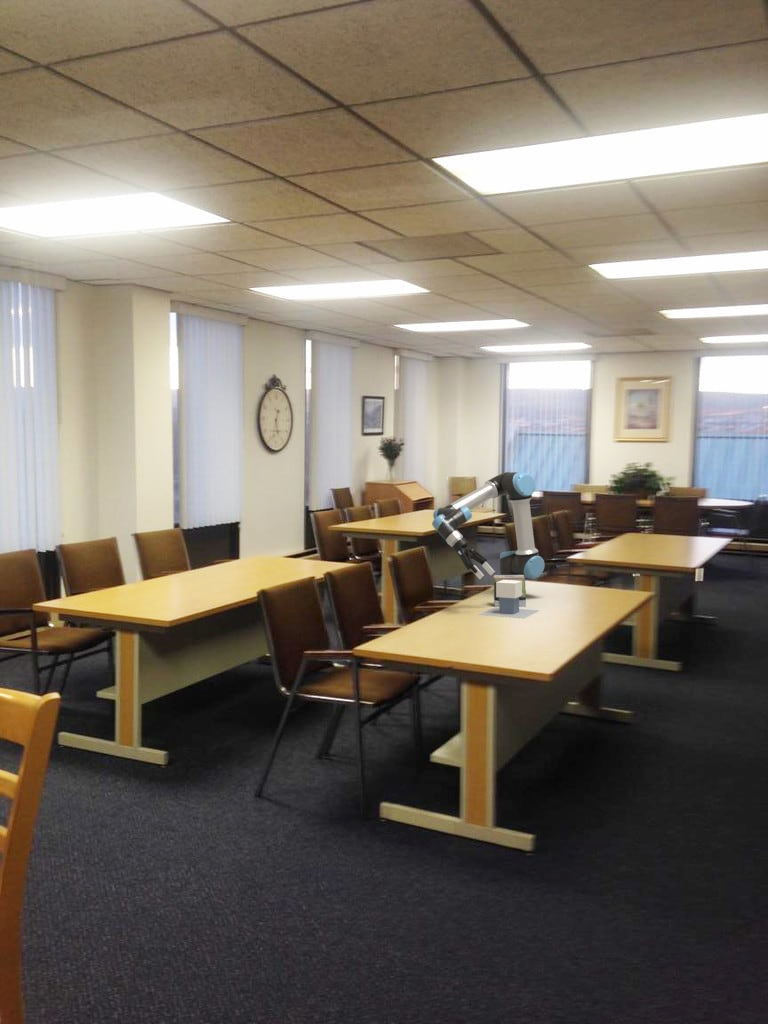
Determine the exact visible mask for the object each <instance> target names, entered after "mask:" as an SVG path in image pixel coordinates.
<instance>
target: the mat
mask: <svg viewBox="0 0 768 1024" xmlns="http://www.w3.org/2000/svg"><path fill="white" fill-rule="evenodd" d="M540 611H541V610H540V609H539V610H537V609H529V608H528V609H526V608H525V609H524V608H519V612H518V613H516V614H502V613H499V607H495V606H494V607H492V608H491V609H488V610H486V611H483V612H481V613H479V614H478V616H485V617H486V616H487V617H499V618H511V619H526V618H528V617H530V616H533V615H534V614H537V613H538V612H540Z"/></svg>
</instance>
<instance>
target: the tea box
mask: <svg viewBox="0 0 768 1024" xmlns="http://www.w3.org/2000/svg"><path fill="white" fill-rule="evenodd" d="M501 580H516V581H522V596H520V597H519V608H527V607H526V606H527V604H526V603H527V601H526V599H527V598H526V597H527V590H526V591H525V589H526V577H524V575H500V574H499V575H498V574H497V575H495V574H493V604H494V608H495V607H499V597H496V582H498V581H501Z"/></svg>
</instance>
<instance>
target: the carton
mask: <svg viewBox="0 0 768 1024" xmlns="http://www.w3.org/2000/svg"><path fill="white" fill-rule="evenodd" d="M519 609H520V607H519V597H517V598H502V597H499V613H502V614H516V613H518V612H519Z"/></svg>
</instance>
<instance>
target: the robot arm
mask: <svg viewBox="0 0 768 1024" xmlns="http://www.w3.org/2000/svg"><path fill="white" fill-rule="evenodd" d="M535 489H536V481H535V479H534V478H533V476H532V475H531V474H530V473H527V472H522V471H516V472H515V471H513V472H511V471H508V472H507V471H505V472H502V473H500V474H498V475H496V476H493V477H492V478H490V479H488V480H487V481H485V482H484V484H483V485H482V486H480V487H478V488H477V489H475V490H473V491H471V492H469V493H468V494H466V495H464V496H462V497H460V498H458V499H457V500H455V501H453V502H451V503H450V504H448V505H446V506H444V507H438V508H435V510H434V511H433V514H432V516H433V520H432V523H431V525H432V527H433V528H434V530H435V531H436V532H437V533H438V534H439V535H440V536H441V537H442V539H444V541H445V542H446V543H447V545H449V546H450V547H451V548H452V550H454V552H455V554H457V555H458V556H459V557H460V560H461V561H462V563H463V564H464V567H465V568H466V569H467V570H468V571H469V570H471V572H472V573H473V574H474V575H475V576H476V577H477V578H478V579H479V580H481V579H482V578H483V577H484V576H485V575H484V574H483V572H482V571H481V570H480V569H479V568H478V567H477V566H476V565H475V564H474V563H473V560H474V561H476V562H477V563H479V564H480V565H481V567H482V568H483V569H484V570H485V571H486V572H487V573H488V575H490V576H492V575H494V573H496V570H494V569H493V568H492V566H491V565H490V564H489V563H488V562H487V561H488V559H487V558H485V557H484V556H483V555H482V554H481V553H479V552H478V551H477V550H476V549H474V547H472V546H470V547H469V541H468V540H467V539H466V538H465V537H464V536H463V535H462V533H461V532H460V531H459V530H458V528H460V527H461V526H462V525H464V524H465V523H467V522H468V521H470V520H471V519H472V518H473V517H472V516H473V513H472V512H471V510H473V509H474V508H476V507H478V506H479V505H482V504H483V503H485V502H487V501H488V500H491V499H496V498H498V497H501V496H508V501H509V502H510V503H511V504H512V512H513V520H514V528H515V536H516V545H517V550H509V551H502V552H500V554H499V575H524V577H525V579H538V578H539V577H540V576H541V575H542V574H543V572H544V570H545V566H546V565H545V560H544V559H543V558H542V556H540V554H539V550H538V549H537V548H536V546H535V538H534V537H535V536H534V529H533V521H532V514H531V505H530V503H531V502H530V501H531V500H532V498H533V494H534V492H535ZM472 559H473V560H472ZM525 591H526V592H527V589H526V588H525Z"/></svg>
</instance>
